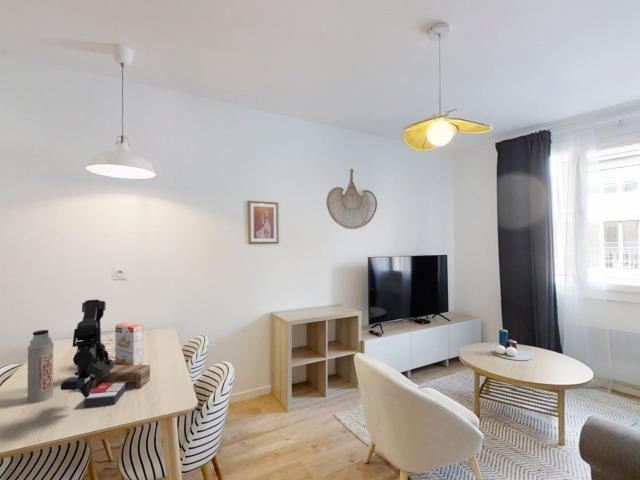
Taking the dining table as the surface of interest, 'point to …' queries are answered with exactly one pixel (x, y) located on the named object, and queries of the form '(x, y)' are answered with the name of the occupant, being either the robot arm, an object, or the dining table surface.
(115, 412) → the dining table surface
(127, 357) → the cracker box
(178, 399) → the dining table surface
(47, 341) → the thermos bottle
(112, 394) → the calculator
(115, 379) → the overhang shelf
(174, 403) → the dining table surface
